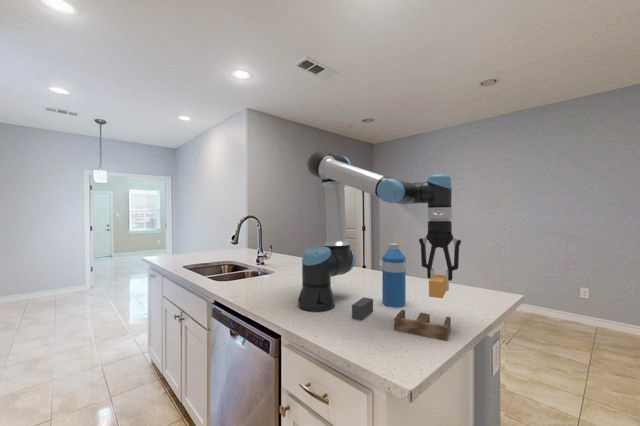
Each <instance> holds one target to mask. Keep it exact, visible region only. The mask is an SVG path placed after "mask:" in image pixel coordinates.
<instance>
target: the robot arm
mask: <svg viewBox="0 0 640 426" xmlns="http://www.w3.org/2000/svg"><path fill="white" fill-rule="evenodd" d="M306 167H307V170H308V172H309V173H310V175H312V176H313V177H315V178H317V179H318V178H319V179H321V186H323V187H324V189H325V190H324V191H325V215H326V217H325V220H326V221H325V222H326V242H324V244H323V246H317V247H310V248H306V249H305V250H304V251H303V253H302V259H301V264H302V266H301V269H302V270H301V276H302V277H301V283H302V285H301V290H300V293H299V296H298V300H297V307H298V308H299V309H301V310H303V311H307V312H325V311H329V310H332V309H334V308H335V307H336V299H335V297H334V293H333V289H332V286H331V284H332V282H331V278H333V277H336V276H339V275H342V276H343V275H345V274H347V273H349V272H350V271H352V270H353V269H354V268H355V267H354V266H355V264H356V255H355V252H353V249H351V244H350V243H349V242H348V241H347V227H346V226H347V225H346V223H347V222H346V201H345V200H346V197H345V188H346V186H347V187H351V188H353V189H356V190H359V191H361V192H364V193H366V194H370V195H372V196H375V197H376V198H378V199H380V200H381V201H383V202H385V203H389V204H399V205H411V204H412V205H413V204H415V205H416V204H427V219H428V221H427V233H426V235H425V237H420V238H419V239H418V242H419V244H420V254H421V255H420V256H421V267H422V268H425V269H426V270H427V271H426V272H427V274H426V275H427V276H426V277H427V278H428V279H429V280H430V279H431V278H432V276H433V275H434V274H435V268H433V263H434V258H435V256H436V249H437V248H441V249H442V250H443V252H444V258H445V259H444V260H445V263H446V268H447V269H446V270H445V275H446V292H449V290H450V282H451V281H453V271H457V270H458V268H459V267H460V266H459V264H460V263H459V261H460V246H461V244H462V240H461V239H458V238H455V237H454V235H453V233H452V230H453V228H452V227H453V226H452V223H453V222H452V213H453V212H452V211H453V210H452V193H453V192H452V189H453V187H452V178H451V176H450V175H449V174H445V173H443V174H441V173H440V174H431V175H428V176H427V180H426V181H423V182H422V181H421V182H410V181H409V182H408V181H404V180H403V181H402V180H398V179H396V178H392V177H390V176H386V175H383V174H380V173H376V172H373V171H371V170H367V169H364V168H360V167H357V166H354V165H352V163H351V161H350V160H349V159H348V157H347V156H343V155H342V154H340V153H335V152H329V151H326V150H316V151H314V152H313V153H311V154H310V155H309V157H308V159H307V163H306ZM427 242H429V244H430V245H431V247H430V253H429V256H428V257H429V258H428V262H427V245H426V244H427ZM451 243H453V246H454V251H453V252H454V255H453V256H454V257H453V258H454V259H453V265H452V260H451V255H450V251H449V245H450V244H451Z"/></svg>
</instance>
